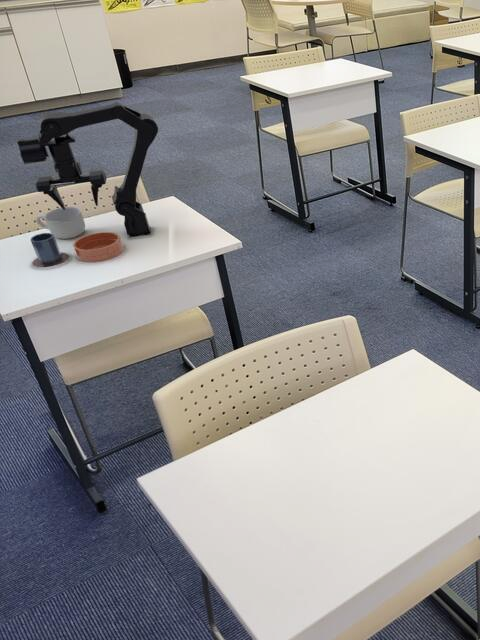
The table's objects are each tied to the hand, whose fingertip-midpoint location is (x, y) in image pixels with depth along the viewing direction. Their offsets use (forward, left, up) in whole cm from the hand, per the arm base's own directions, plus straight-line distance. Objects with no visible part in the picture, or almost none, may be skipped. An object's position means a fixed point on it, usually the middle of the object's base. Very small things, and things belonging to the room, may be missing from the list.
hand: (81, 207), depth 217 cm
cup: (+11, +10, -11) cm, 19 cm away
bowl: (-3, +10, -12) cm, 16 cm away
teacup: (+9, -9, -12) cm, 18 cm away
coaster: (+11, +10, -12) cm, 19 cm away
